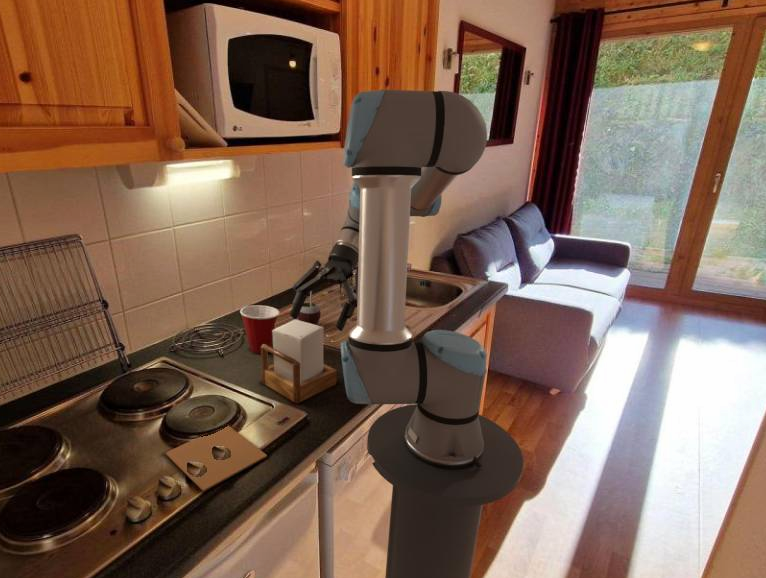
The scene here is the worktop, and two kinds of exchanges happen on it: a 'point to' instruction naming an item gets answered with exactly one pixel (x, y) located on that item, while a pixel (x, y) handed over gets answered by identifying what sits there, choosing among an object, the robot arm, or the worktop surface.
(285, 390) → the open wooden box
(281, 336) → the rectangular carton
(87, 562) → the worktop surface
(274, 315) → the plastic cup
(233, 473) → the mat
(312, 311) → the mate gourd
